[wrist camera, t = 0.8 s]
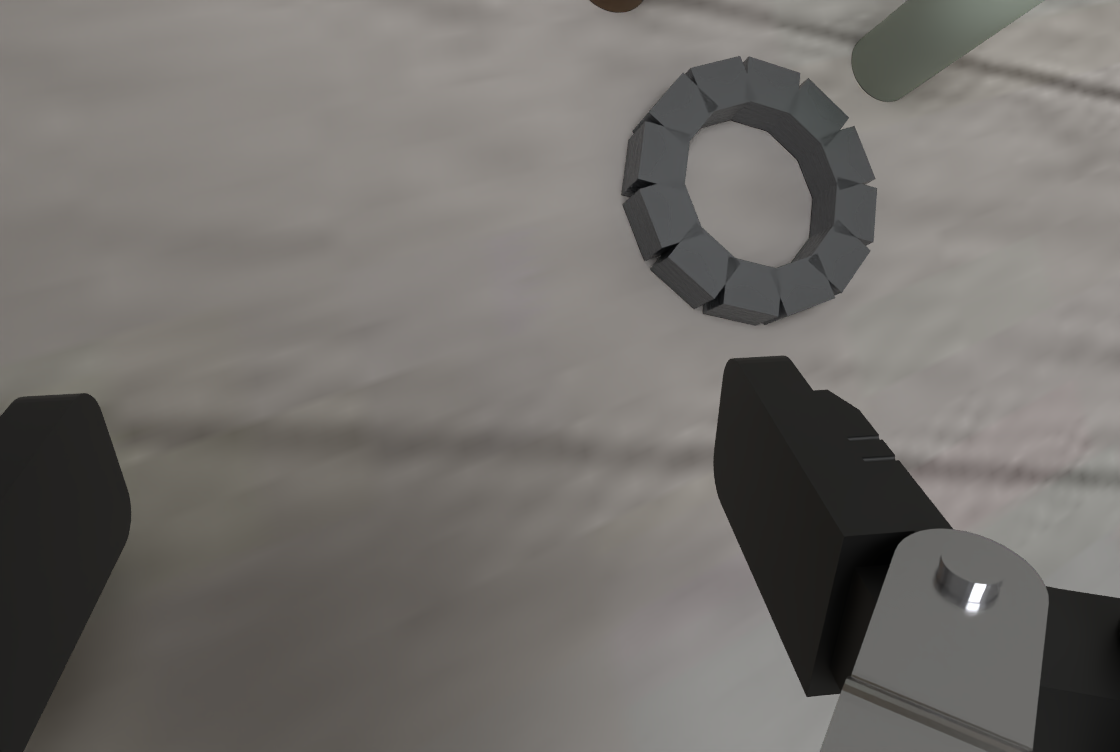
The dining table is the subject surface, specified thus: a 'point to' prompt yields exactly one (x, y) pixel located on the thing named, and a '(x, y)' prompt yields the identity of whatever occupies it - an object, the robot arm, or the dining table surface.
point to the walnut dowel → (617, 4)
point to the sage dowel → (927, 41)
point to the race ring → (826, 165)
